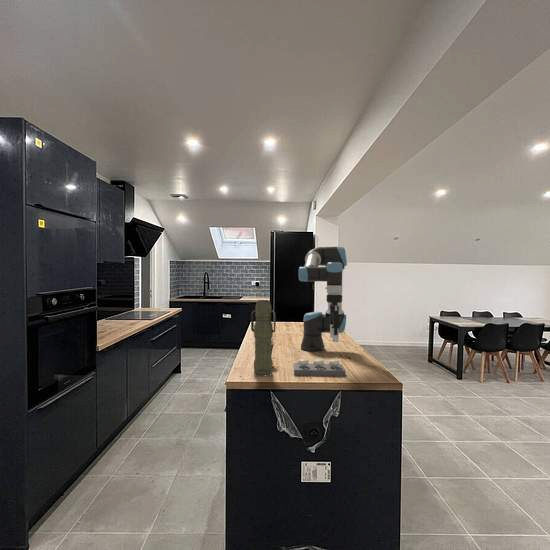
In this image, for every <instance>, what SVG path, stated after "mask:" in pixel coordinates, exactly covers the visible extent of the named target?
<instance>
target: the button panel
mask: <svg viewBox="0 0 550 550" xmlns="http://www.w3.org/2000/svg"><path fill="white" fill-rule="evenodd" d="M293 375H294V376H316V377H317V376H318V377H319V376H321V377H326V376H328V377H346V369H345V367H344V365H343V364H341V363H339V365H338V366H337V368H332V365H329V363H324V365H321V368H316V365H314V363H308V365H306V368H302V367H301V365H299V364H298V363H293Z"/></svg>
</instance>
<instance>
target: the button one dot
mask: <svg viewBox="0 0 550 550" xmlns="http://www.w3.org/2000/svg"><path fill="white" fill-rule="evenodd" d="M328 364H329V365H332V368H337V366H338V365H339V364H340V360H339V359H336V358H335V359H329V360H328Z"/></svg>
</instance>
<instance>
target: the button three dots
mask: <svg viewBox="0 0 550 550" xmlns="http://www.w3.org/2000/svg"><path fill="white" fill-rule="evenodd" d="M313 364H314V365H316V368H321V365H324V364H325V360H324V359H320V358H318V359H317V358H315V359H313Z"/></svg>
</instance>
